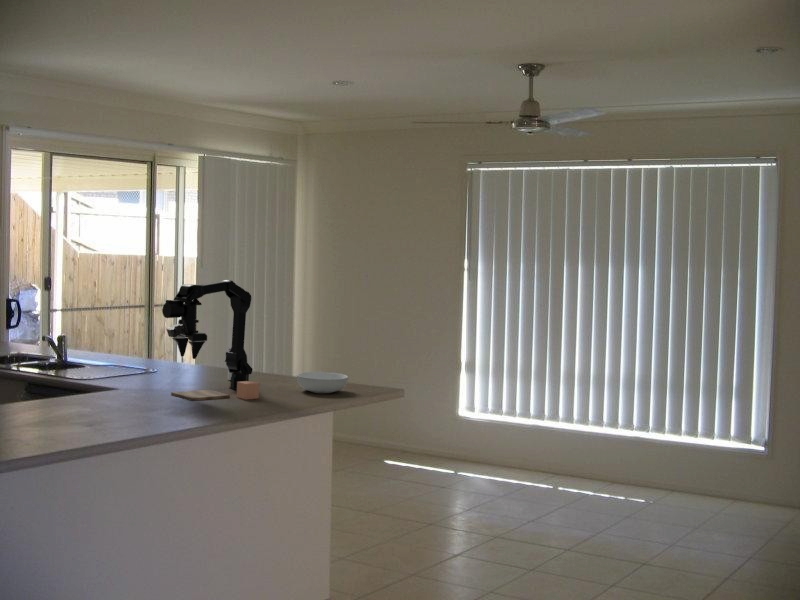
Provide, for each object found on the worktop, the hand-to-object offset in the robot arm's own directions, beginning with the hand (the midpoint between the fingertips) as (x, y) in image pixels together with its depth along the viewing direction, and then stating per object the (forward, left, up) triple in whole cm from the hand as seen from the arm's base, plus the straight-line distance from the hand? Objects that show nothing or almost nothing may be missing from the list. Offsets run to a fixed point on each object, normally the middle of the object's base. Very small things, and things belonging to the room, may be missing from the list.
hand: (188, 357), depth 361 cm
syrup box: (-38, -25, -14) cm, 47 cm away
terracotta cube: (-16, +18, -14) cm, 28 cm away
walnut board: (-2, +7, -14) cm, 16 cm away
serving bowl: (-51, +19, -14) cm, 56 cm away
